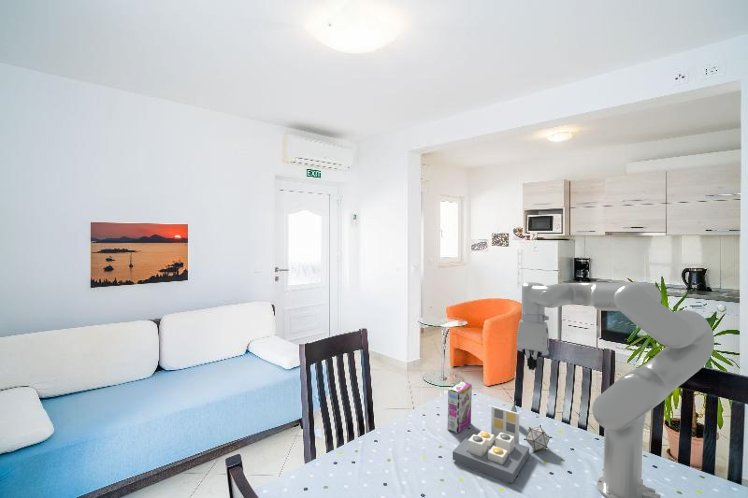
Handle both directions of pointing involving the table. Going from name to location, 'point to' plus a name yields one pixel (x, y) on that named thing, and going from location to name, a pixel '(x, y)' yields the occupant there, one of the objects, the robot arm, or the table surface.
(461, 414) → the candy bar box
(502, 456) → the button
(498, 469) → the board
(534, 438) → the game die
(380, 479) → the table surface
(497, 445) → the button
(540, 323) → the robot arm
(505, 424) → the card
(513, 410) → the pocket watch
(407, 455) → the table surface
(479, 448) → the button
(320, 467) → the table surface
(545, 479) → the table surface
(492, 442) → the button
